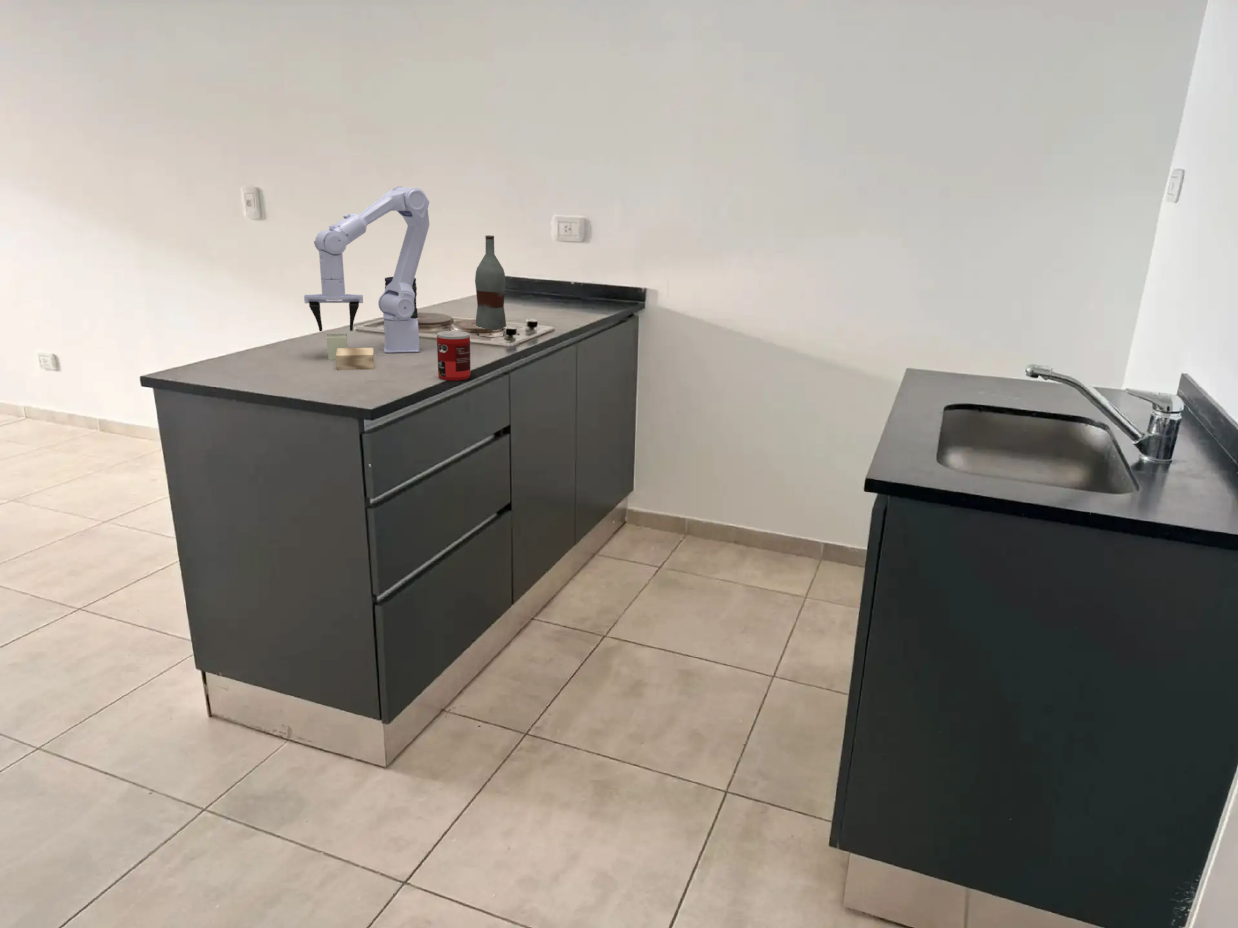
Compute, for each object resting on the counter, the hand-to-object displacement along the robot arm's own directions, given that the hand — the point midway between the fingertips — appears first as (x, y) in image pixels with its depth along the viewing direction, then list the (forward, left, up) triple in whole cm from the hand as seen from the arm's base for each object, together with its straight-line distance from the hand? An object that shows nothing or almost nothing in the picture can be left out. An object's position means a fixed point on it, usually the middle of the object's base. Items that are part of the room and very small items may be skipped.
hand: (336, 330), depth 224 cm
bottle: (-45, -28, -8) cm, 53 cm away
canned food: (-28, +26, -8) cm, 39 cm away
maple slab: (-5, +10, -8) cm, 13 cm away
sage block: (0, 0, -7) cm, 7 cm away
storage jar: (-19, -46, -8) cm, 51 cm away
